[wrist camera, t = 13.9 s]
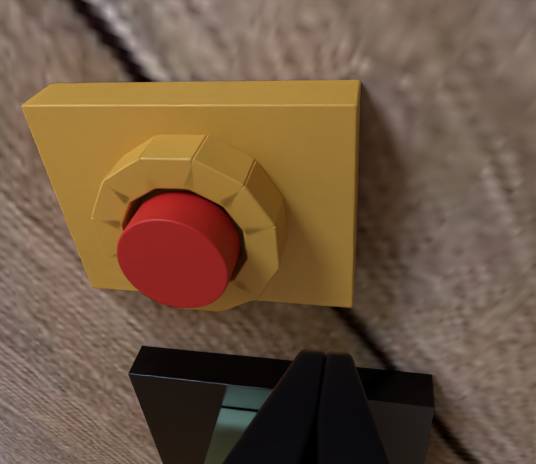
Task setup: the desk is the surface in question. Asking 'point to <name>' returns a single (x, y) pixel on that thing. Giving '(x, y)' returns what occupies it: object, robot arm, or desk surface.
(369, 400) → the black square platform
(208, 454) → the box
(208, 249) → the button
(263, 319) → the desk surface
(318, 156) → the button block
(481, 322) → the desk surface
